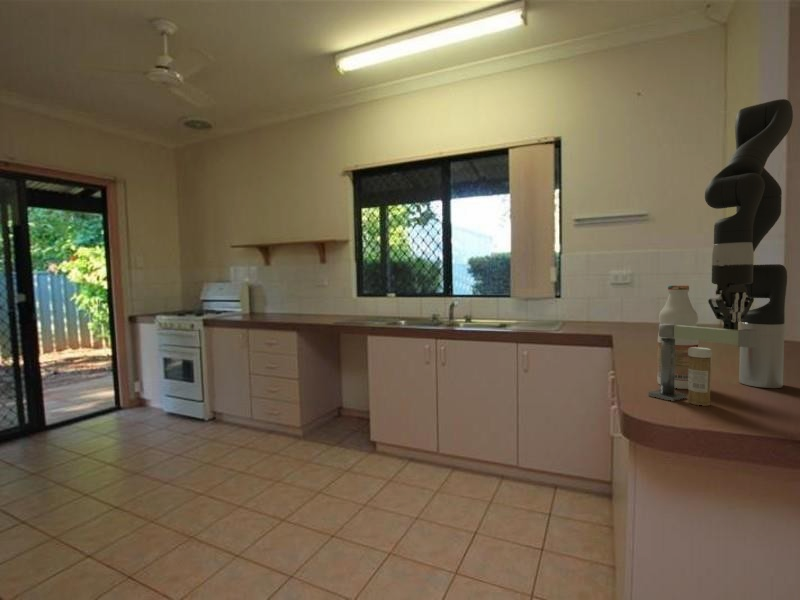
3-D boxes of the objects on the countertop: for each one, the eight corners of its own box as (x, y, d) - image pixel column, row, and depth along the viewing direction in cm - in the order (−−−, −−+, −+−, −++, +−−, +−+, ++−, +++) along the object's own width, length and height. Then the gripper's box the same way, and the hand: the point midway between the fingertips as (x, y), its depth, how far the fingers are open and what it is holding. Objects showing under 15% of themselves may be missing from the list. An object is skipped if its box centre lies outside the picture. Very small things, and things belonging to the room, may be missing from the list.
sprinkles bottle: (713, 404, 100) (715, 348, 99) (705, 407, 98) (706, 350, 97) (692, 399, 104) (693, 345, 103) (683, 403, 101) (684, 348, 101)
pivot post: (661, 392, 111) (662, 336, 110) (686, 397, 105) (687, 338, 105) (648, 395, 108) (649, 338, 107) (673, 401, 103) (674, 341, 102)
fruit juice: (649, 383, 120) (650, 285, 119) (673, 379, 123) (674, 284, 122) (680, 391, 111) (682, 286, 110) (705, 387, 115) (707, 285, 113)
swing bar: (655, 337, 107) (655, 323, 106) (664, 336, 109) (664, 322, 108) (748, 347, 90) (748, 331, 89) (757, 346, 92) (757, 329, 91)
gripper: (732, 264, 103) (731, 334, 103) (696, 264, 98) (694, 338, 99) (768, 262, 96) (766, 338, 96) (731, 262, 91) (729, 342, 92)
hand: (730, 338), depth 98 cm, fingers closed
